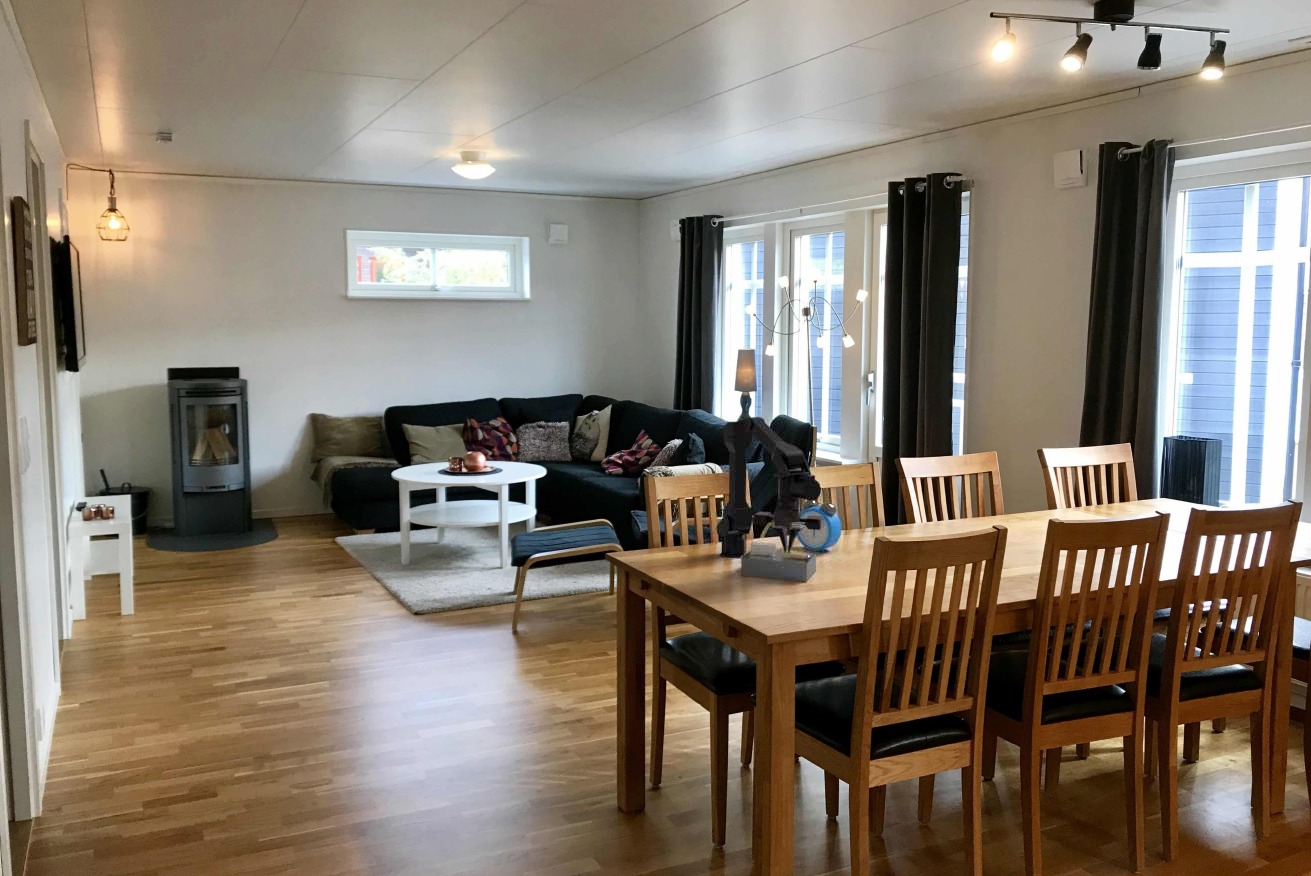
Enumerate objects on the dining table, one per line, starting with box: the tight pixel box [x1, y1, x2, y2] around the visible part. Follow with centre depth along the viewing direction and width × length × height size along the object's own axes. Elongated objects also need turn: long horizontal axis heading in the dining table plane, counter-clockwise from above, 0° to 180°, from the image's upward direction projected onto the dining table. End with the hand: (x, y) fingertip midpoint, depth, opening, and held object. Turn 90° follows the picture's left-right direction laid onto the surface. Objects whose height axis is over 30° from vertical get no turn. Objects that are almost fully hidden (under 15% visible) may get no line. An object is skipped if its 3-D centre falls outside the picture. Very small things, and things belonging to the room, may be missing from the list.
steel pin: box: [749, 541, 777, 557], centre depth 285 cm, size 6×3×8 cm, turn 70°
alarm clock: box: [796, 500, 842, 554], centre depth 312 cm, size 13×6×15 cm, turn 48°
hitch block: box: [740, 550, 817, 583], centre depth 283 cm, size 18×12×5 cm, turn 70°
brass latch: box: [781, 548, 812, 560], centre depth 281 cm, size 8×4×1 cm, turn 70°
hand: (787, 551), depth 282 cm, fingers closed, pressing on brass latch
